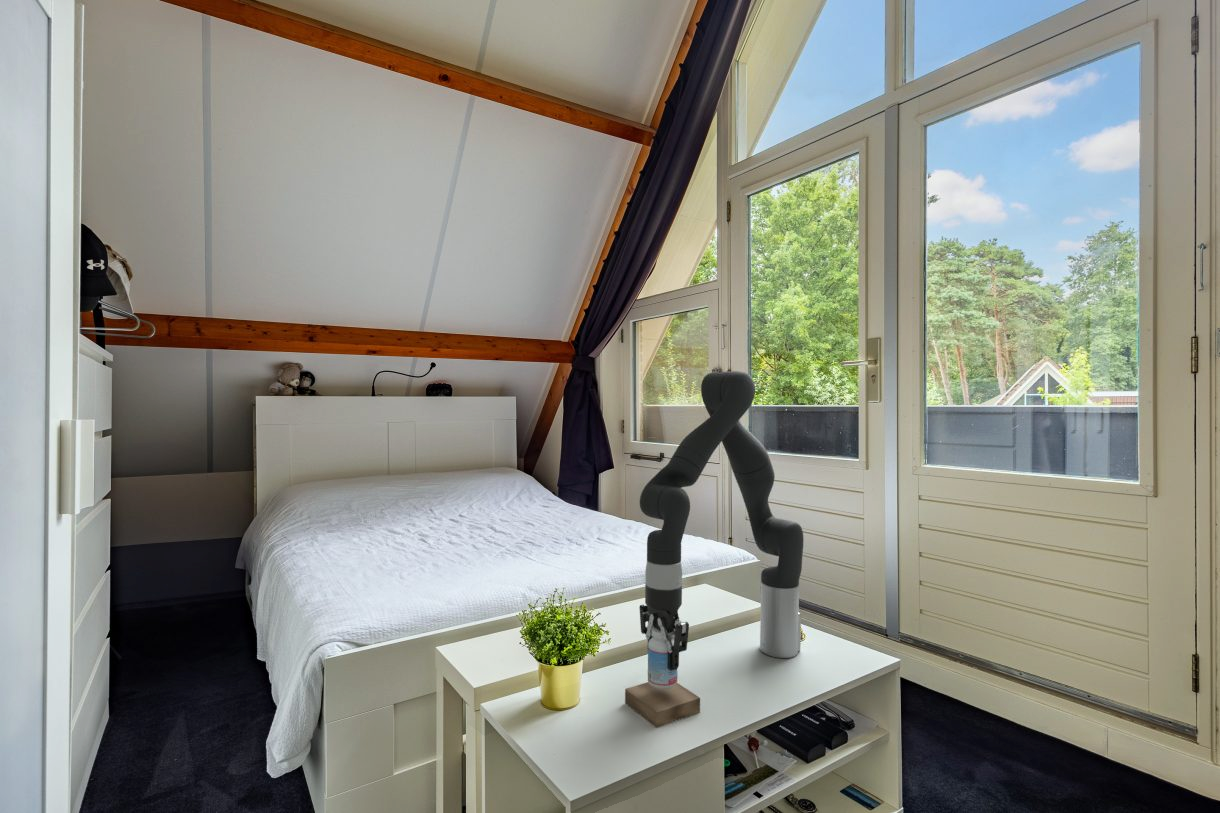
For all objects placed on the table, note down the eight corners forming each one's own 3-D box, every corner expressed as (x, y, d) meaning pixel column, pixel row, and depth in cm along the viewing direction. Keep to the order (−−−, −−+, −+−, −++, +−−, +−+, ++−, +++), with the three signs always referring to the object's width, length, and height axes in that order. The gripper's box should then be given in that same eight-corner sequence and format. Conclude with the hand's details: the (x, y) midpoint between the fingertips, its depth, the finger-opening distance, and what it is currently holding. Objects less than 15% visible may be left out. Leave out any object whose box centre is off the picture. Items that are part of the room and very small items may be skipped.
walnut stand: (667, 689, 134) (667, 676, 134) (700, 712, 125) (700, 697, 125) (625, 703, 128) (625, 688, 128) (656, 727, 119) (656, 712, 119)
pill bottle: (675, 691, 123) (676, 636, 123) (645, 688, 124) (646, 633, 124) (678, 677, 129) (679, 624, 129) (649, 674, 130) (650, 622, 130)
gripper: (700, 589, 122) (699, 672, 122) (657, 570, 134) (656, 646, 135) (670, 595, 118) (669, 681, 118) (628, 575, 130) (628, 654, 131)
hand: (662, 662), depth 127 cm, fingers closed on pill bottle, 6 cm apart
